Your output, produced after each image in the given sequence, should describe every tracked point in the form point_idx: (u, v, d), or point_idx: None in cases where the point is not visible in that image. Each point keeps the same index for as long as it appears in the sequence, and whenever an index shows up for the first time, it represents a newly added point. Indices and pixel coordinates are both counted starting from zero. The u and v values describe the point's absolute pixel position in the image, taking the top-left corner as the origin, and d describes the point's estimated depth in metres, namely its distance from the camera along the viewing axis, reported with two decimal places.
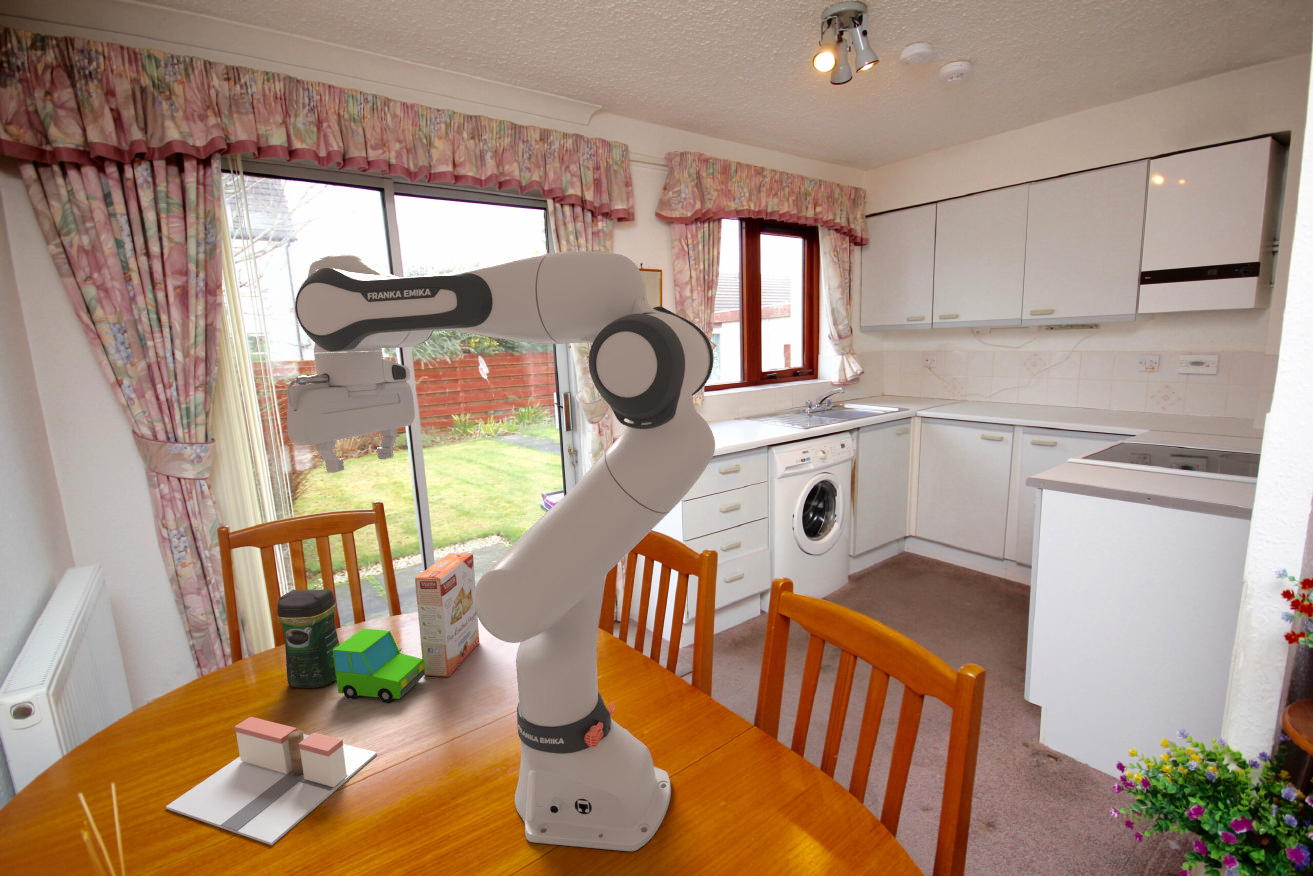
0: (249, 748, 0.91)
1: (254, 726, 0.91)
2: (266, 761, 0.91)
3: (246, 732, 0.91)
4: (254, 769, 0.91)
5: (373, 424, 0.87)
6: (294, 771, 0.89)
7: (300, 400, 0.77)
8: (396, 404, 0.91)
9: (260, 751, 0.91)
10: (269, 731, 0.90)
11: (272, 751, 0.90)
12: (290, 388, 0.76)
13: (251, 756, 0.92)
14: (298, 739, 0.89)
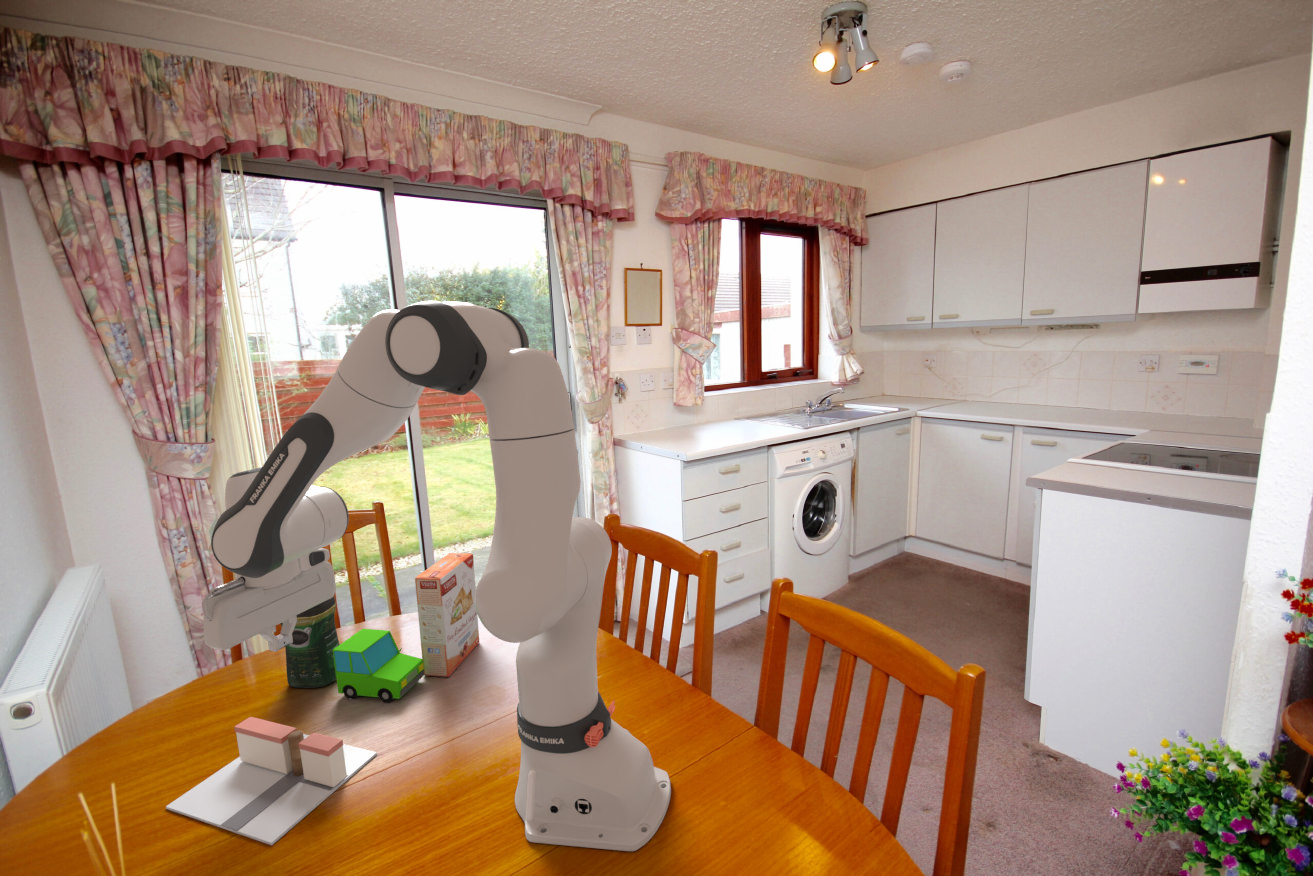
0: (249, 748, 0.91)
1: (254, 726, 0.91)
2: (266, 761, 0.91)
3: (246, 732, 0.91)
4: (254, 769, 0.91)
5: (290, 610, 0.95)
6: (294, 771, 0.89)
7: (215, 611, 0.84)
8: (316, 584, 0.99)
9: (260, 751, 0.91)
10: (269, 731, 0.90)
11: (272, 751, 0.90)
12: (204, 603, 0.84)
13: (251, 756, 0.92)
14: (298, 739, 0.89)
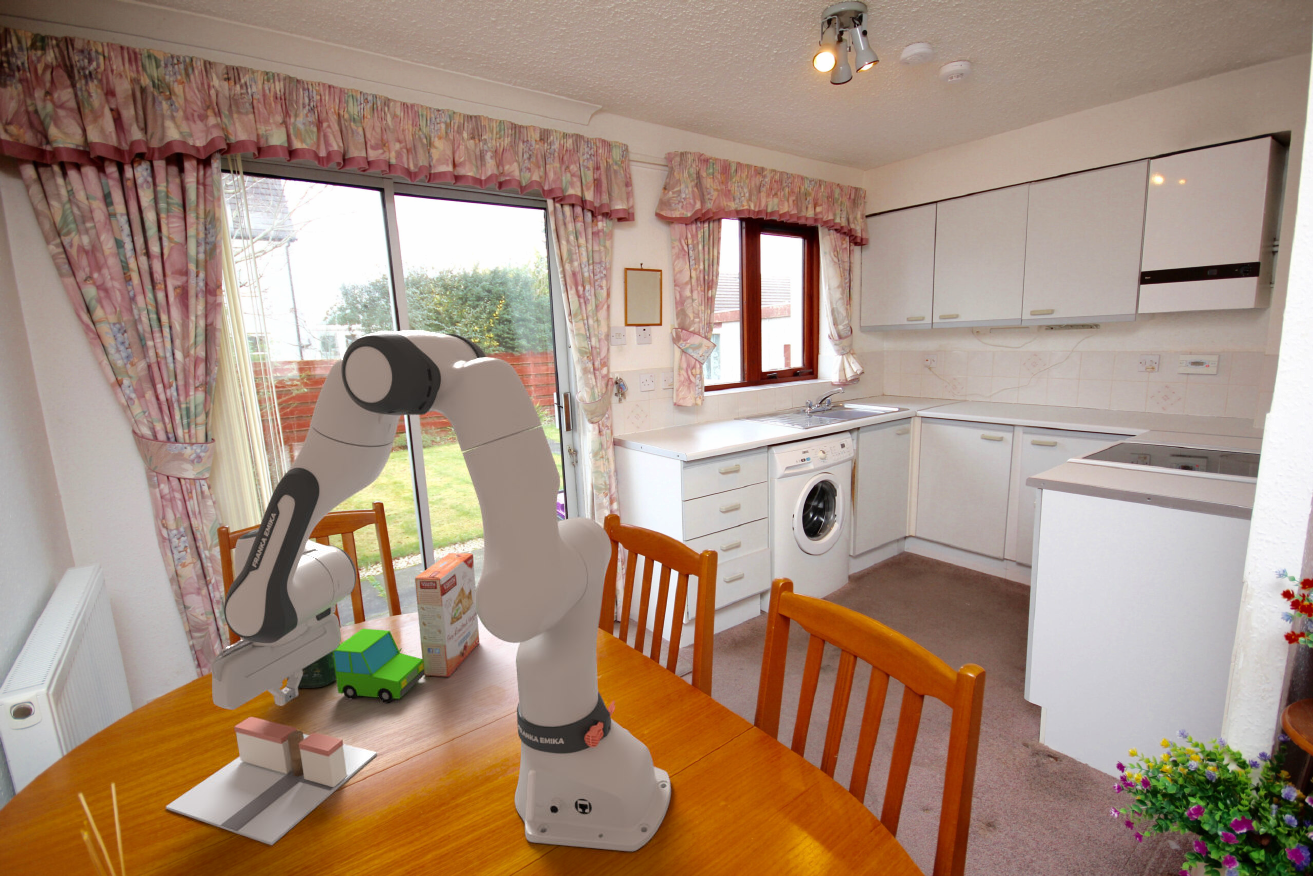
0: (249, 748, 0.91)
1: (254, 726, 0.91)
2: (266, 761, 0.91)
3: (246, 732, 0.91)
4: (254, 769, 0.91)
5: (297, 665, 0.96)
6: (294, 771, 0.89)
7: (223, 672, 0.86)
8: (322, 636, 1.01)
9: (260, 751, 0.91)
10: (269, 731, 0.90)
11: (272, 751, 0.90)
12: (213, 664, 0.85)
13: (251, 756, 0.92)
14: (298, 739, 0.89)
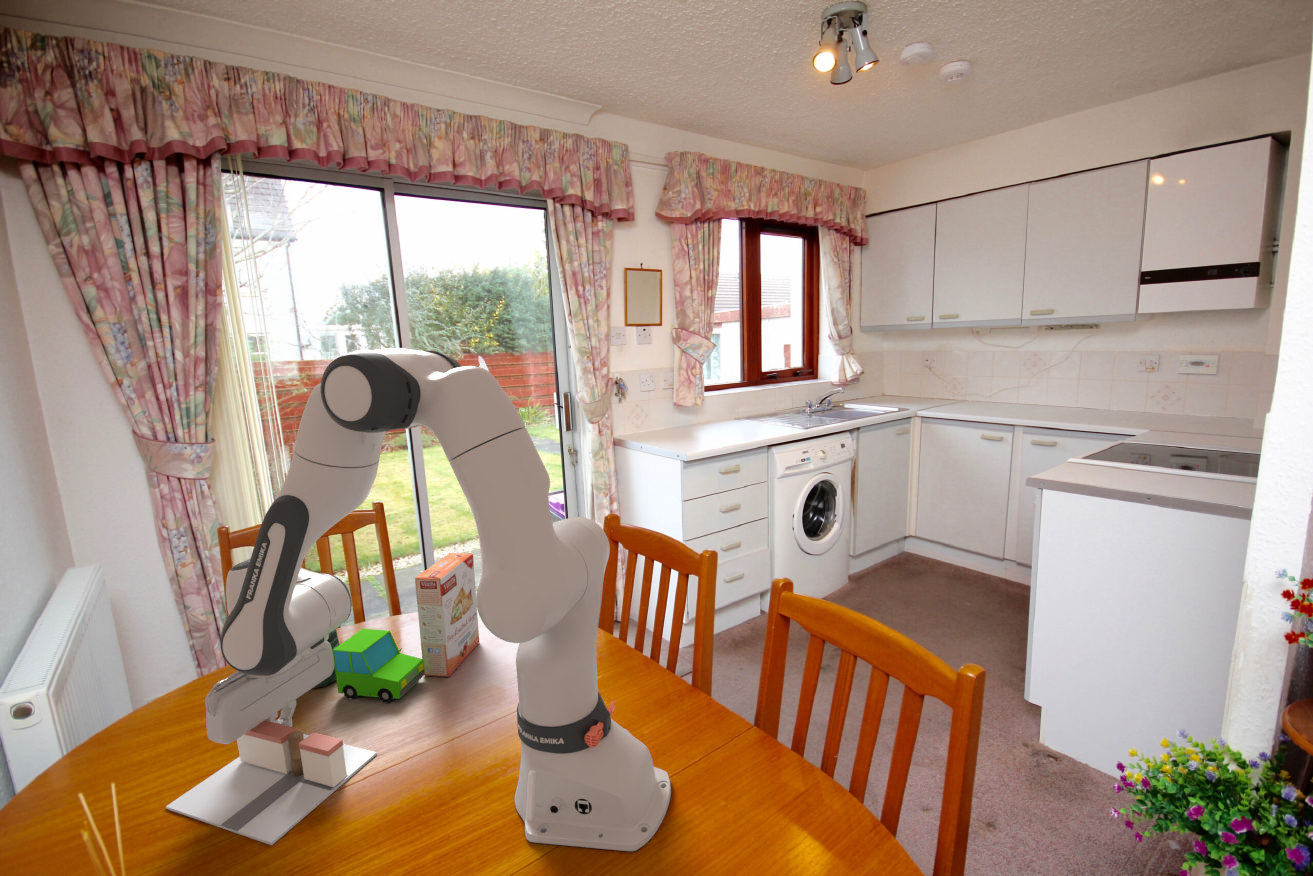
0: (249, 749, 0.91)
1: None
2: (266, 761, 0.90)
3: None
4: (254, 769, 0.91)
5: (291, 695, 0.95)
6: (294, 771, 0.89)
7: (218, 707, 0.85)
8: (315, 664, 1.00)
9: (260, 751, 0.91)
10: (269, 731, 0.90)
11: (272, 751, 0.90)
12: (208, 699, 0.84)
13: (251, 757, 0.92)
14: (298, 739, 0.89)
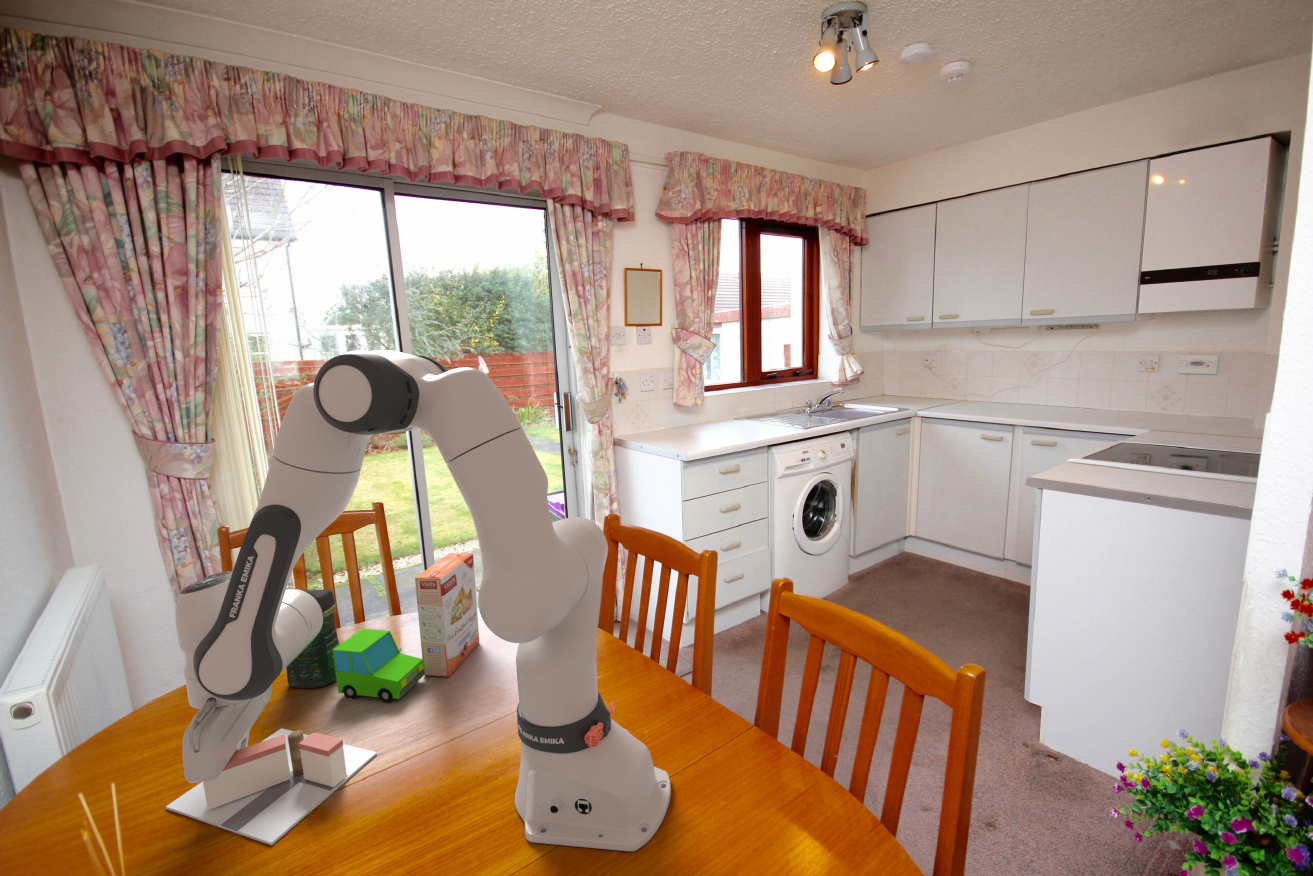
0: (226, 785, 0.84)
1: None
2: (256, 784, 0.86)
3: (224, 767, 0.83)
4: None
5: (250, 721, 0.89)
6: (294, 771, 0.89)
7: (203, 740, 0.78)
8: None
9: (247, 778, 0.85)
10: (257, 750, 0.86)
11: (268, 766, 0.86)
12: (193, 734, 0.77)
13: (230, 793, 0.84)
14: (298, 739, 0.89)
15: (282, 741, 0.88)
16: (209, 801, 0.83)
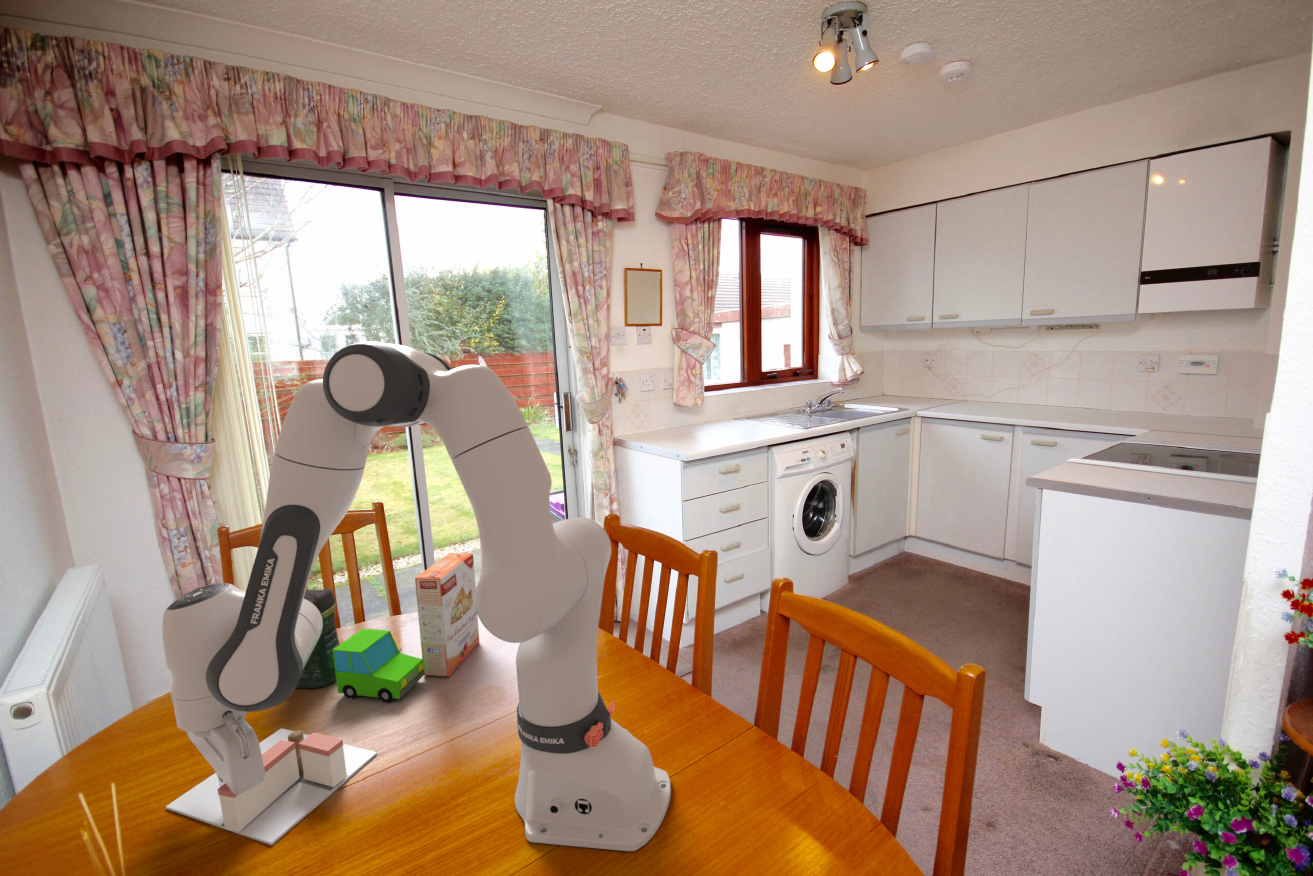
0: (252, 800, 0.81)
1: None
2: (275, 791, 0.84)
3: None
4: None
5: None
6: None
7: (251, 744, 0.76)
8: None
9: (267, 787, 0.83)
10: (271, 757, 0.84)
11: (283, 769, 0.86)
12: (246, 738, 0.75)
13: (255, 807, 0.81)
14: (298, 739, 0.89)
15: (289, 742, 0.87)
16: (239, 821, 0.79)
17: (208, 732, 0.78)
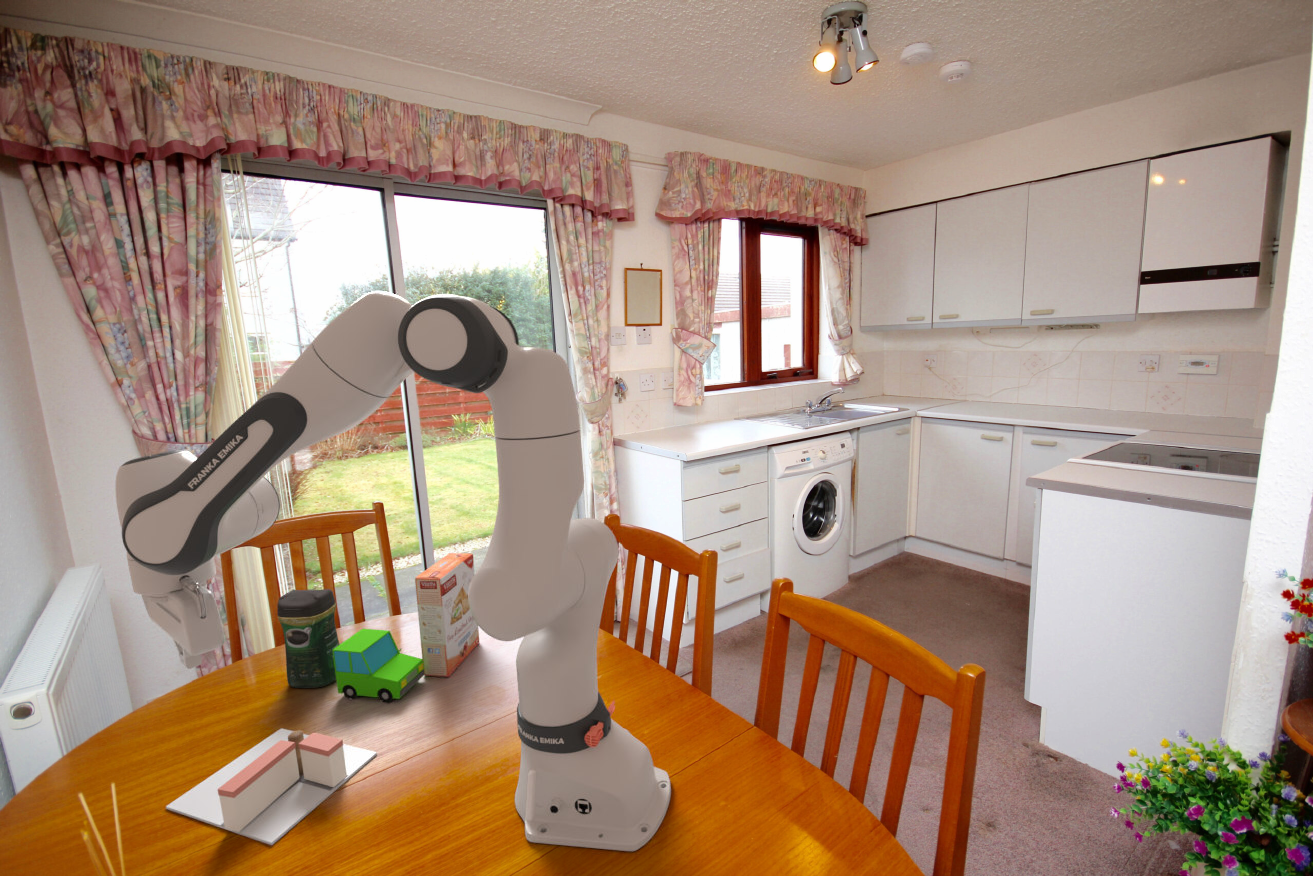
0: (252, 800, 0.81)
1: (248, 774, 0.81)
2: (275, 791, 0.84)
3: (250, 781, 0.80)
4: None
5: None
6: None
7: (208, 605, 0.75)
8: None
9: (267, 787, 0.83)
10: (271, 757, 0.84)
11: (283, 769, 0.86)
12: (203, 596, 0.73)
13: (255, 807, 0.81)
14: (298, 739, 0.89)
15: (289, 742, 0.87)
16: (239, 821, 0.79)
17: (165, 597, 0.77)
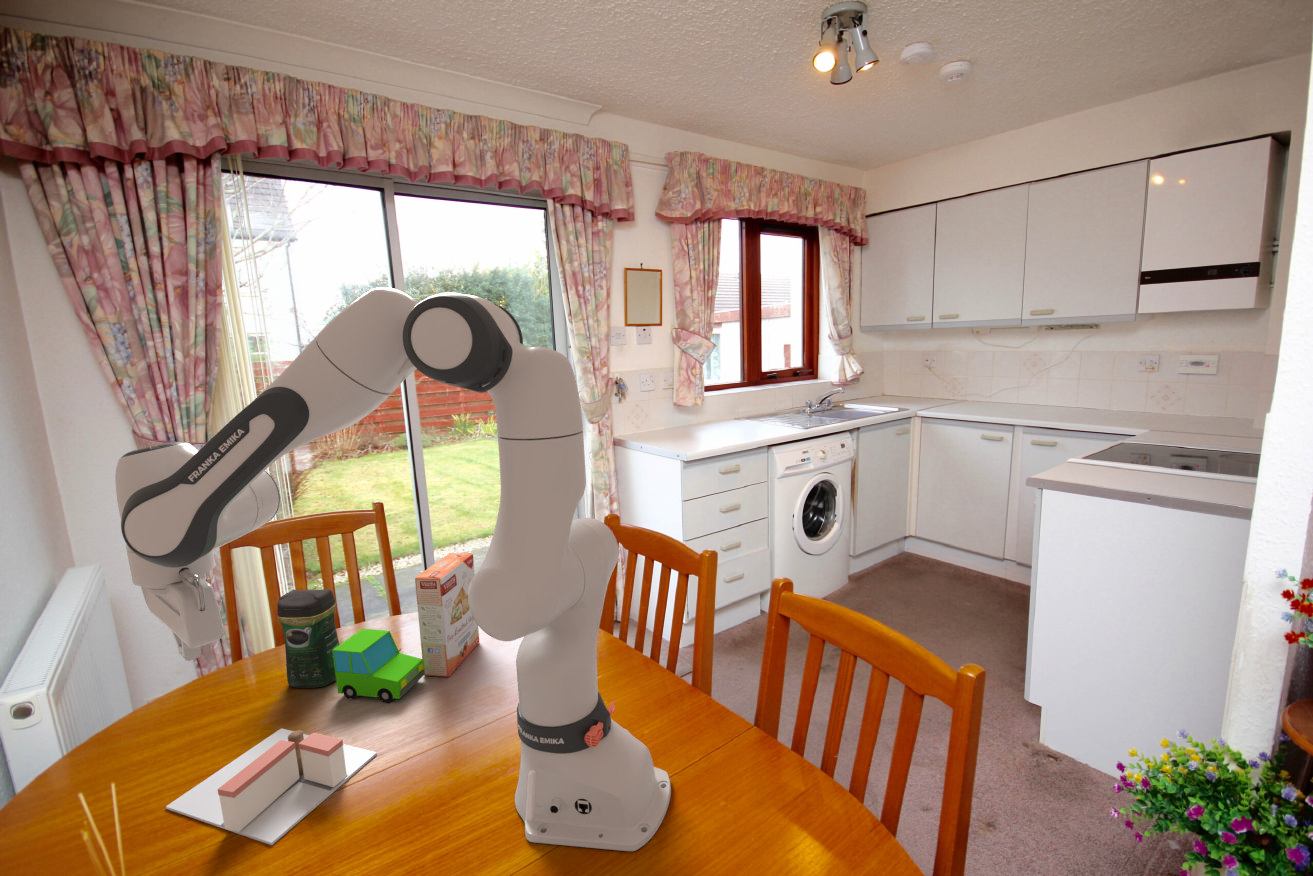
0: (252, 800, 0.81)
1: (248, 774, 0.81)
2: (275, 791, 0.84)
3: (250, 781, 0.80)
4: None
5: None
6: None
7: (207, 598, 0.75)
8: None
9: (267, 787, 0.83)
10: (271, 757, 0.84)
11: (283, 769, 0.86)
12: (202, 589, 0.73)
13: (255, 807, 0.81)
14: (298, 739, 0.89)
15: (289, 742, 0.87)
16: (239, 821, 0.79)
17: (165, 589, 0.76)
